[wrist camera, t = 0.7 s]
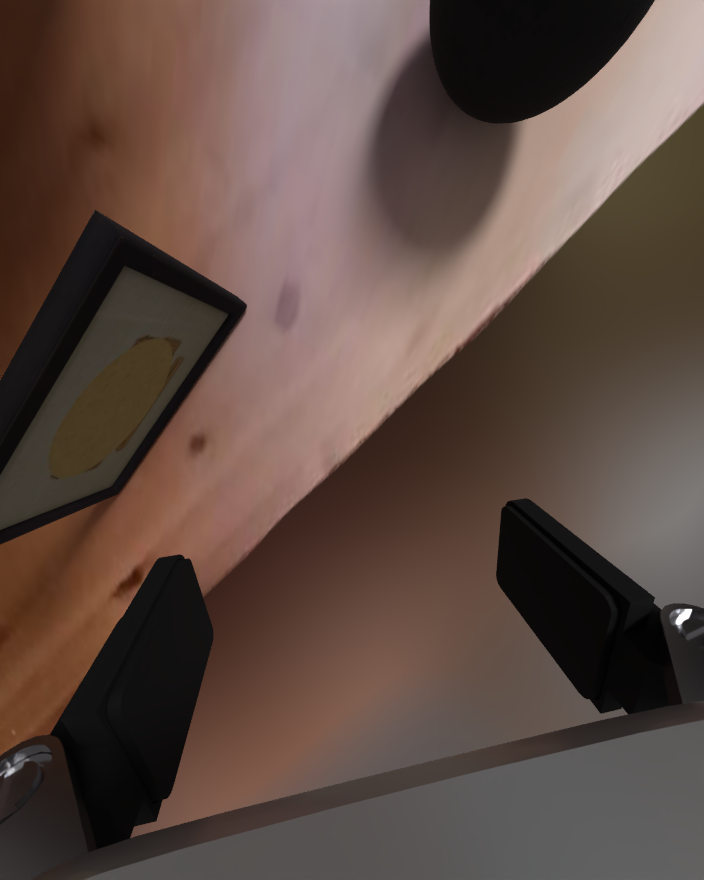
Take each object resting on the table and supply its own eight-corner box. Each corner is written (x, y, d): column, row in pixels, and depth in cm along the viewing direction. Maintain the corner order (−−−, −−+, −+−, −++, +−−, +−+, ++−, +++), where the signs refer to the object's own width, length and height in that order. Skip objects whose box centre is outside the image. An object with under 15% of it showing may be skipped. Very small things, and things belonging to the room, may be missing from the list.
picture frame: (119, 493, 34) (-37, 603, 20) (33, 441, 32) (-212, 521, 18) (248, 306, 30) (171, 270, 15) (158, 233, 28) (-28, 114, 13)
